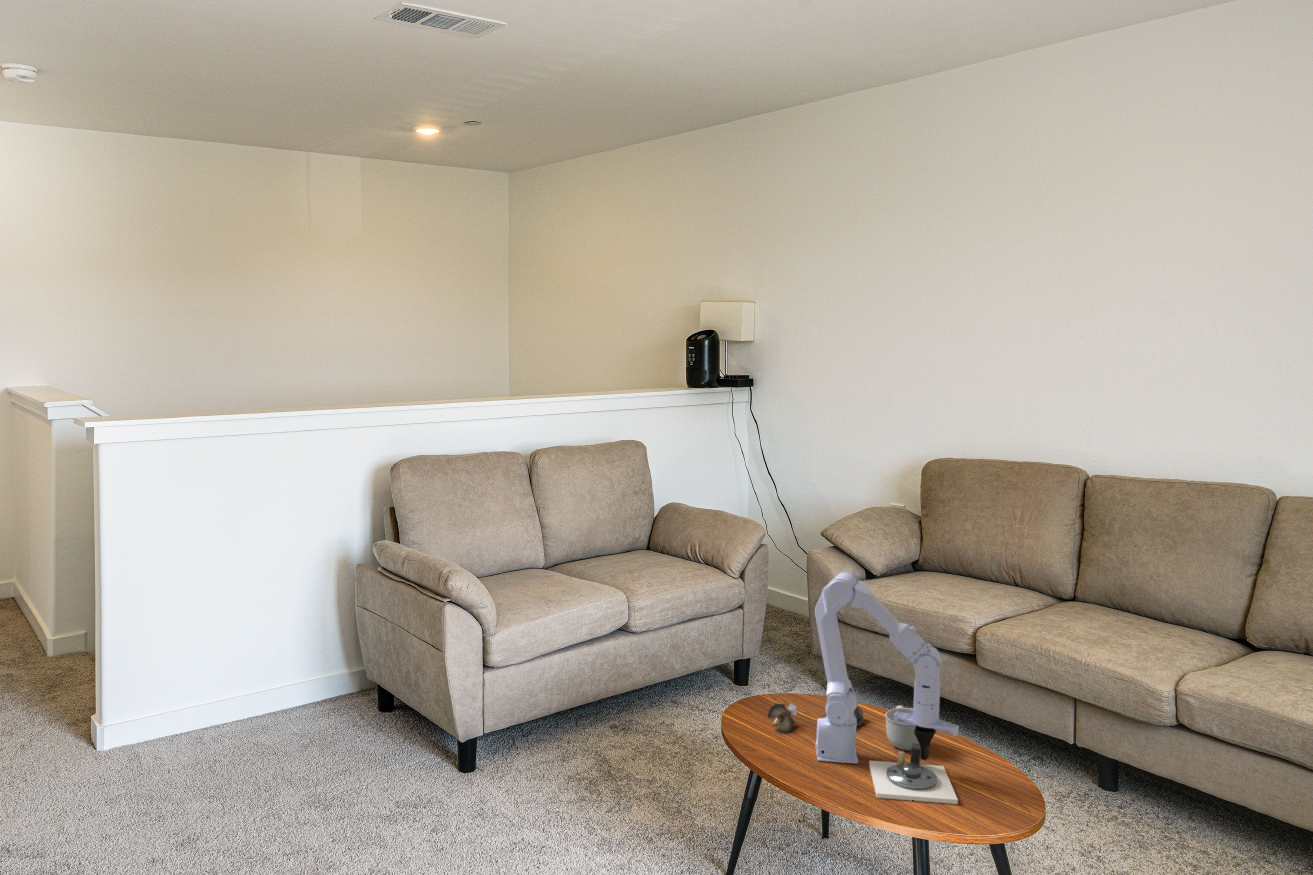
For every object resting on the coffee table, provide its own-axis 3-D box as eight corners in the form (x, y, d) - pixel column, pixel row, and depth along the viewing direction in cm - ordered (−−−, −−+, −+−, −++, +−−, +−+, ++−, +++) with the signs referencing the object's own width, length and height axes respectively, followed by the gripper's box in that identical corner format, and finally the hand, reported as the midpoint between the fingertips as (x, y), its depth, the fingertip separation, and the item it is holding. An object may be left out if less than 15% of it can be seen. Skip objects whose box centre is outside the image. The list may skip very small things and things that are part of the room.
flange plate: (934, 792, 199) (935, 773, 199) (883, 783, 203) (883, 764, 203) (940, 765, 213) (941, 747, 213) (892, 757, 217) (893, 739, 217)
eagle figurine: (764, 713, 243) (760, 720, 235) (780, 692, 243) (776, 697, 234) (787, 732, 241) (784, 739, 233) (803, 711, 241) (801, 717, 233)
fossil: (862, 730, 235) (845, 695, 236) (830, 742, 238) (813, 707, 238) (866, 714, 245) (849, 680, 246) (835, 725, 248) (819, 691, 249)
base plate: (876, 797, 199) (877, 779, 199) (868, 764, 216) (869, 747, 216) (957, 804, 197) (958, 786, 197) (943, 770, 214) (944, 753, 214)
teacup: (931, 756, 221) (933, 724, 221) (885, 752, 223) (887, 720, 223) (925, 734, 235) (926, 704, 234) (881, 730, 237) (883, 700, 236)
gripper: (963, 702, 211) (960, 759, 212) (901, 689, 219) (899, 745, 220) (954, 711, 205) (952, 770, 206) (891, 698, 213) (889, 755, 214)
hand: (924, 758), depth 213 cm, fingers closed
